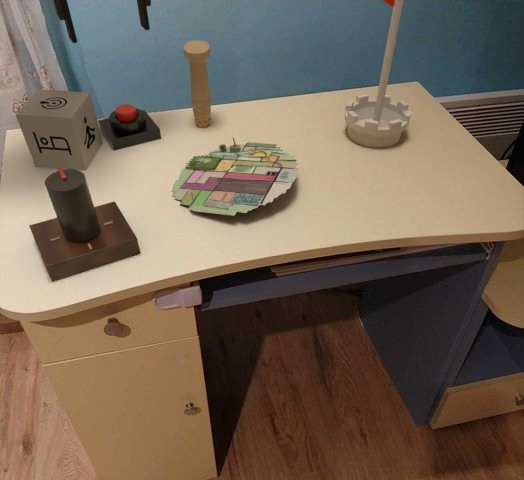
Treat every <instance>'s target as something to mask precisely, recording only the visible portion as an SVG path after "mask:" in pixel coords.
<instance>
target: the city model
mask: <svg viewBox="0 0 524 480" xmlns="http://www.w3.org/2000/svg"><path fill="white" fill-rule="evenodd" d="M232 142H233V144H232V145H230V146H229V145H228V146H227V145H226V144H223V143H222V144H220V145H219V146H218V148H217V149H216V150H213V151H209V152H208V153H207V154H204V155H196V156H195V155H194V156H192V158H190V159H189V161H188V162H185V164H186V165H185V166H184V168H182V169H181V170H180V174H179V176H178V179H175V181H174V183H173V185H172V188H171V191H170V192H171V193H173V194H172V195H171V197H174V200H179V205H184V206H188V210H191V211H192V212H198V213H199V212H200V213H207V214H216V215H223V216H232V217H234V216H235V215H236V214H237V213H242V214H247V213H248V212H249V211H253V210H254V209H258V208H259V206H266V205H267V204H268V203H273V201H274V199H277V198H278V199H279V196H280V195H282V194H286V193H287V190H289V189H291V187H292V185H293V183H294V182H295V181H296V179H297V175H298V172H299V169H300V168H299V167H297V166H298V164H299V163H298V162H297V161H298V159H295V158H296V155H292V154H291V155H290V152H289V151H285V150H284V149H281V147H277V145H278V144H277V143H264V142H263V143H262V142H246V143H245V144H241V143H236V141H235V137H232Z"/></svg>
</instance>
